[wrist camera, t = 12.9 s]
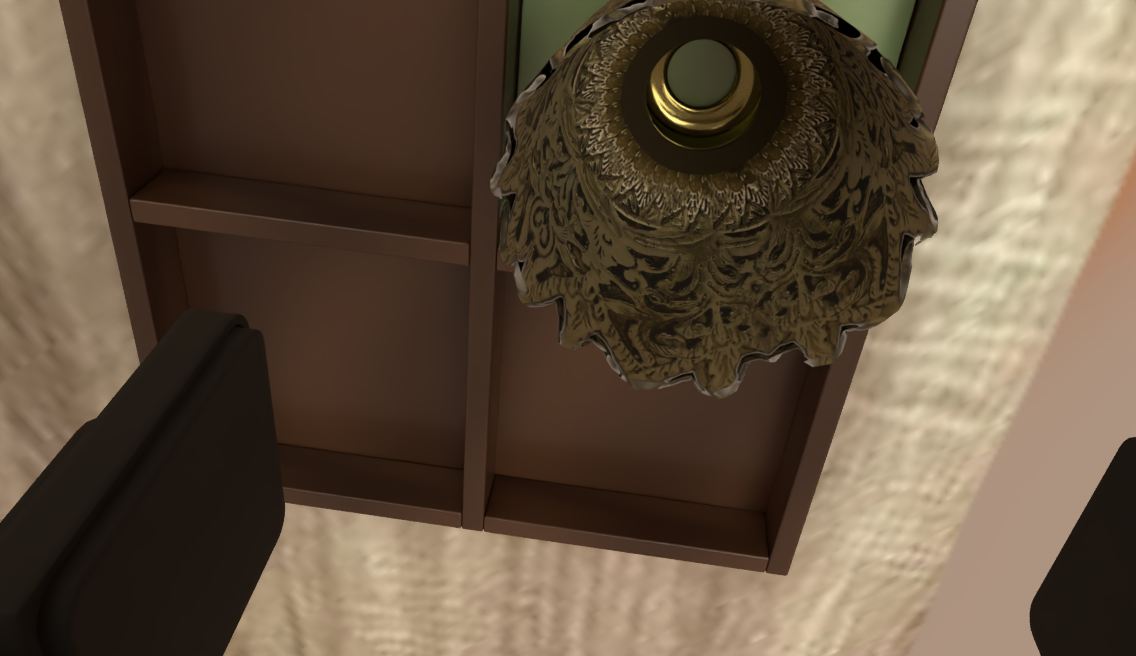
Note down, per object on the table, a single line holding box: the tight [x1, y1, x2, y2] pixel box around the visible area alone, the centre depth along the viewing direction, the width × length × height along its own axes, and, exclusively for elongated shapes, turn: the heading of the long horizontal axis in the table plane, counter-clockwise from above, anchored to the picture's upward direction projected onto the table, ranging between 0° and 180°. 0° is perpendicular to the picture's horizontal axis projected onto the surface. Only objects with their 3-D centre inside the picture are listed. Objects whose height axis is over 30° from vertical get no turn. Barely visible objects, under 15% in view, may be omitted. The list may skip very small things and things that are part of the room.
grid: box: [59, 0, 978, 576], centre depth 24 cm, size 20×20×3 cm
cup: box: [490, 0, 939, 399], centre depth 18 cm, size 8×7×8 cm
